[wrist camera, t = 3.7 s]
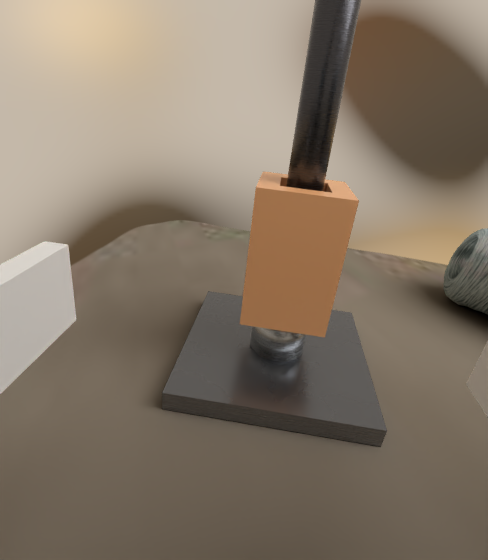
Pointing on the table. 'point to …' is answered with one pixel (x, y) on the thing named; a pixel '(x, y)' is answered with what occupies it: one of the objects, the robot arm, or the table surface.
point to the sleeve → (296, 254)
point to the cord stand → (280, 344)
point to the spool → (469, 273)
